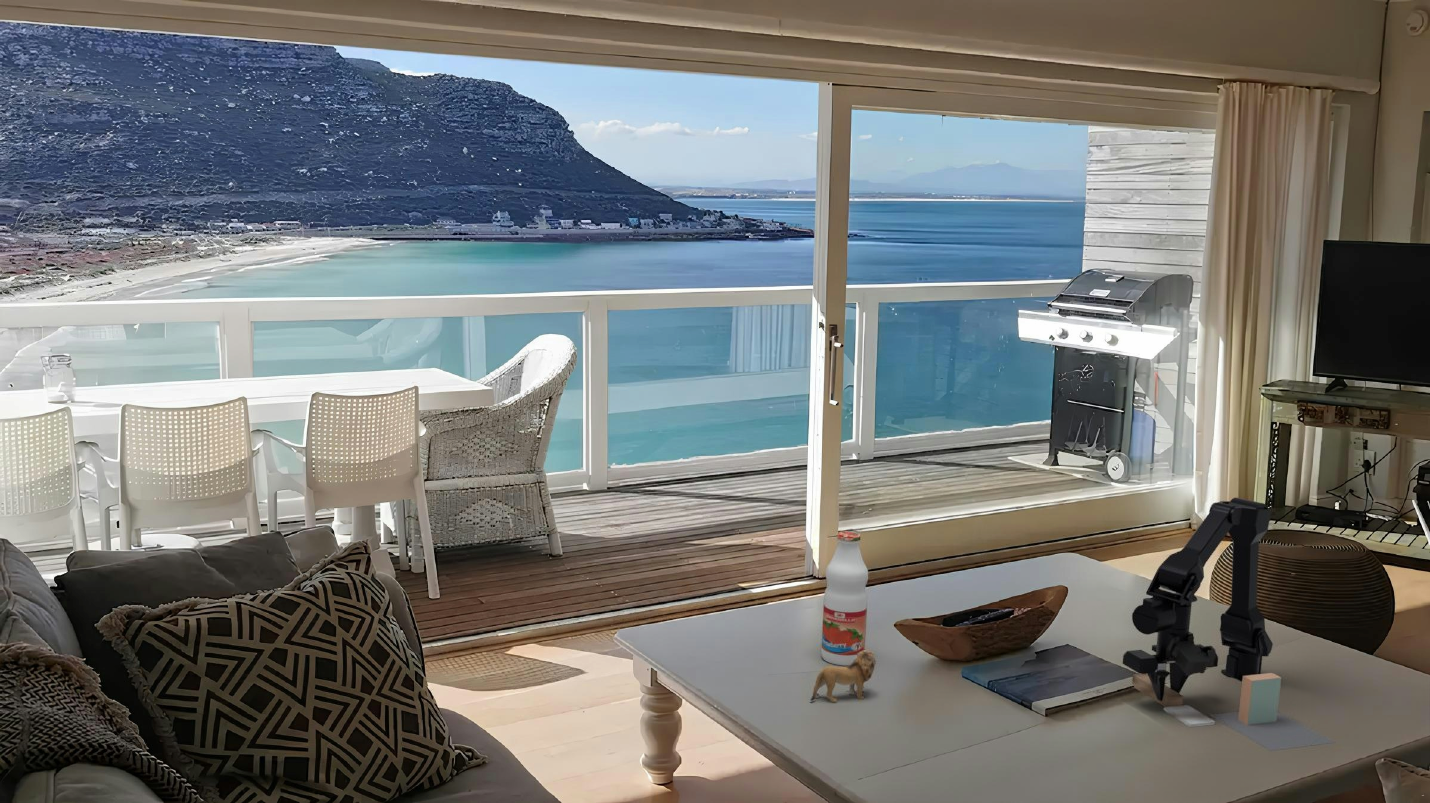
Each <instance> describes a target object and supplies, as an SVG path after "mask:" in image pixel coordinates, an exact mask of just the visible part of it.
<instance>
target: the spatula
mask: <svg viewBox="0 0 1430 803" xmlns="http://www.w3.org/2000/svg"><path fill="white" fill-rule="evenodd" d="M1131 680H1132V682H1131V685H1132V684H1133V686H1134V687H1133V688H1134V689H1136V690H1137V691H1139V692H1141V693H1143V694H1144V695H1145V696H1147V697H1149V698H1150V699H1152V700H1153V701H1154V702H1156V703H1158V704H1160V705H1162V706H1163V711H1164V712H1165V713H1167V714H1169V715H1171V716H1172V717H1174V718H1176V719H1177V720H1178V721H1180V722H1182V723H1183V724H1185V725H1186V726H1188V727H1190V728H1194V727H1205V726H1214V725H1216V721H1215V720H1213V719H1212V718H1209V717H1208V716H1207V715H1205V714H1203V713H1202V712H1200V711H1198V710H1197V709H1195V708H1194V707H1192V706H1190V705H1189V704H1185V705H1183V704H1184V703H1183V701H1184V695H1183V694H1181V693H1177V692H1176V691H1174V690H1172V689H1171V688H1170V686H1167V685H1166V684H1165V687H1164V695H1163V699H1162V701H1160V700H1158V699H1157V697H1156V694H1155V692H1154V689H1153V686H1152V684H1151V681H1150V678H1149V676H1148V674H1141V673H1133V674H1132V679H1131Z"/></svg>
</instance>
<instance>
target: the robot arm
mask: <svg viewBox="0 0 1430 803" xmlns="http://www.w3.org/2000/svg"><path fill="white" fill-rule="evenodd" d="M1271 516H1272V515H1271V510H1270V508H1269V507H1268V506H1267V505H1266V504H1265V503H1264V502H1259V501H1255V500H1249V499H1245V498H1241V497H1233V498H1232V499H1231V500H1230V501H1228V500H1221V501H1220V500H1219V502H1217V501H1216V502H1213V503H1212V504H1211V506H1210V507H1209V511H1208V514H1207V515H1206V517H1205V518H1204V520H1203V521H1202V522H1201V523H1200V524H1199V526H1198V527H1197V528H1196V530H1195V532H1194V533H1193V534H1192V535H1191V537H1190V539H1189V540H1188V541H1187V543H1186V544H1185V546H1184V547H1183V548H1181V550H1179V551H1177V552H1174V553H1171V554H1170V555H1169V556H1168V557H1166V559H1165V560H1164V561H1163V562H1162V563H1161V564H1160V565H1159V567H1158V568H1157V570H1156V572H1155V574H1154V576H1153V578H1152V580H1151V581H1150V584H1149V586H1148V587H1147V590H1146V591H1145V594H1146V595H1147V596H1151V597H1145V598H1143V599H1142V604H1140V605H1138V606H1136V607H1135V608H1134V609H1133V612H1132V614H1131V617H1132V618H1131V620H1132V624H1133V626H1134V627H1135V629H1136V630H1137V631H1138V632H1139V633H1142V634H1143V635H1153V634H1154V633H1155V634H1156V633H1157V637H1156V644H1153V645H1151V651H1153V652H1154V653H1155V654H1150V653H1148V652H1146V651H1145V650H1143V649H1134V650H1133V649H1132V650H1127V651H1125V652H1124V653H1123V655H1122V664H1123V665H1124V666H1126V667H1127V668H1129V669H1131V670H1133V671H1134V672H1136V673H1137V674H1147V675H1148V676H1149V678H1150V681H1151V684H1152V686H1153V689H1154V692H1155V694H1156V697H1157V699H1158V700H1160V701H1162V699H1163V695H1164V687H1165V685H1166V678H1167V677H1168V676H1169V684H1170V685H1169V688H1171V689H1172V690H1174V691H1176V692H1177V693H1179V694H1181V691H1182V689H1183V687H1184V685H1185V684H1186V682H1187V681H1188V678H1189V677H1190V676H1191V675H1194V674H1204V673H1205V672H1206V671H1207V670H1206V669H1207V668H1215V667H1218V663H1219V656H1218V654H1217V652H1216V648H1214V646H1212V645H1202V644H1201V643H1200V644H1199V643H1198V644H1195V636H1194V632H1193V633H1192V632H1191V631H1190V624H1191V612H1192V604H1193V603H1195V602H1197V601H1198V597H1197V596H1196V593H1197V592H1198V590H1199V589H1200V587H1201V583H1202V582H1203V580H1204V578H1205V572H1204V567H1205V565H1206V564H1207V562H1208V561H1209V559H1210V558H1211V556H1212V555H1213V554H1214V553H1215V551H1216V550H1217V548H1218V547H1219V546H1220V544H1221V543H1222V541H1223V540H1224V539H1225V537H1226V536H1227V534H1228V535H1229V536H1230V538H1231V540H1232V561H1231V562H1232V563H1231V565H1232V567H1231V568H1232V569H1231V595H1230V597H1231V598H1230V599H1231V602H1230V606H1229V607H1228V608H1227V610H1226V611H1225V612H1223V613H1222V614H1221V615H1220V627H1219V631H1220V638H1221V645H1222V646H1224V647H1225V646H1226V647H1229V648H1228V653H1227V655H1226V663H1225V669H1221V671H1220V672H1221V673H1222V674H1224V675H1225V676H1228V677H1230V678H1233V679H1236V680H1238V681H1240V682H1242V680H1243V676H1247V675H1257V674H1262V665H1263V664H1262V663H1263V657H1270V656H1269V655H1270V654H1271V652H1272V649H1273V645H1274V643H1273V641H1272V640H1271V638H1270V636H1269V634H1268V633H1267V631H1266V624H1265V623H1266V622H1265V620H1266V619H1265V616H1264V615H1263V614H1262V611H1260V609H1259V607H1258V605H1257V604H1258V576H1259V575H1258V574H1259V552H1260V551H1259V550H1260V549H1259V548H1260V547H1259V546H1260V545H1259V544H1260V541H1261V539H1262V538H1263V537H1264V535H1265V534H1266V533H1267V532H1268V530H1269V523H1270V521H1271ZM1161 588H1162V589H1161ZM1167 664H1169V671H1168V670H1167Z"/></svg>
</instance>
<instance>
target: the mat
mask: <svg viewBox="0 0 1430 803" xmlns="http://www.w3.org/2000/svg"><path fill="white" fill-rule="evenodd" d="M1209 717H1212V718H1213V719H1215V720H1217V721H1219V722H1220V723H1222V724H1223V725H1225V726H1227V727H1229V728H1230V729H1232V730H1234V731H1236V732H1237V733H1239V734H1240V735H1242V736H1244V737H1246V738H1247V739H1249V740H1251V741H1253V743H1254V742H1255V743H1256V744H1258V745H1260V746H1261V747H1263V748H1264V749H1267V750H1268V751H1270V752H1273V751H1281V750H1289V749H1297V748H1305V747H1310V746H1312V747H1313V746H1318V745H1327V744H1334V743H1336V741H1334V740H1332V739H1330V738H1328V737H1326V736H1324V735H1323V734H1322V733H1319V732H1317V731H1315V730H1313V729H1312V728H1309V727H1308V726H1307V725H1304V724H1302V723H1300V722H1298V721H1296V720H1295V719H1293V718H1291V717H1289V716H1287V715H1285V714H1283V713H1282V712H1280V711H1278V713H1277V722H1269V723H1261V724H1252V725H1246V724H1244V723H1243V722H1241V721H1239V720H1238V717H1239V711H1233V712H1224V713H1223V712H1222V713H1216V714H1209Z"/></svg>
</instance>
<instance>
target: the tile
mask: <svg viewBox="0 0 1430 803" xmlns="http://www.w3.org/2000/svg"><path fill="white" fill-rule="evenodd" d="M1281 686H1282V677H1281V676H1279V675H1277V674H1276V673H1274V672H1268V673H1261V674H1257V675H1247V676H1243V680H1242V681H1241V690H1240V699H1239V700H1240V701H1239V710H1238V712H1239V717H1238V720H1239V721H1241V722H1243V723H1244V724H1246V725H1252V724H1261V723H1269V722H1277V713H1278V712H1279V703H1280V695H1281V694H1280V693H1281Z"/></svg>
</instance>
